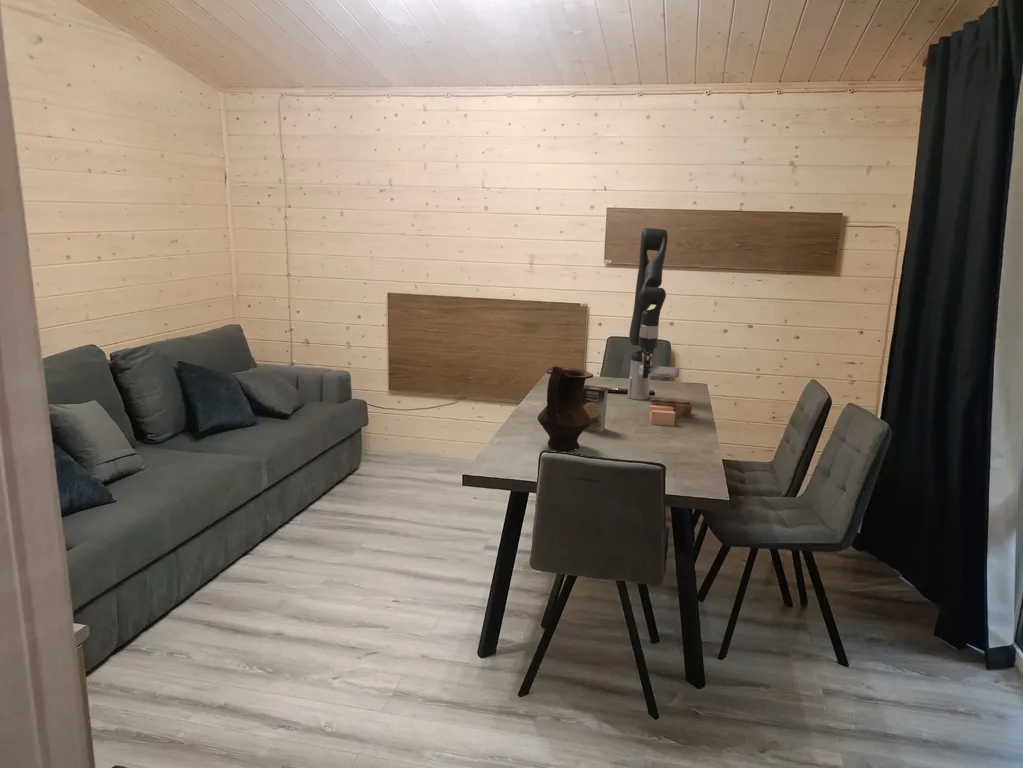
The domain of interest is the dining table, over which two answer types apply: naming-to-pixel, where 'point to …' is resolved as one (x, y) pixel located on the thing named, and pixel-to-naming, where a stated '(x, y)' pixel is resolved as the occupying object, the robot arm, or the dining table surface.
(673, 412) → the terracotta cradle
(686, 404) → the wooden channel bracket
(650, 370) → the steel axle
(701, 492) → the dining table surface
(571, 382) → the jug
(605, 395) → the coffee box
